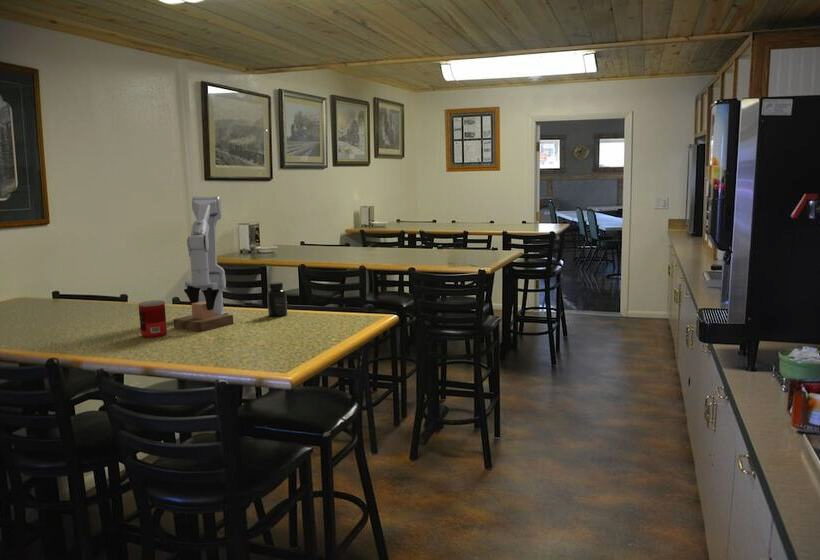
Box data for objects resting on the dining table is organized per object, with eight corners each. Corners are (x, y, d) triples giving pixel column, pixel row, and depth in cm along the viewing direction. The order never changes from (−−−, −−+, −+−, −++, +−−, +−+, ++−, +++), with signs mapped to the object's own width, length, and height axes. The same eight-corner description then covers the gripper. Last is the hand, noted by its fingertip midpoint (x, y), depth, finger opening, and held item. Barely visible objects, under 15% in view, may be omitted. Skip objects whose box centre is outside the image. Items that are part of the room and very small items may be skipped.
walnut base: (173, 327, 231) (173, 319, 230) (206, 320, 243) (205, 312, 242) (201, 331, 224) (201, 322, 223) (233, 323, 235) (233, 315, 235)
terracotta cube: (192, 317, 232) (191, 303, 231) (204, 315, 236) (203, 301, 235) (202, 319, 229) (201, 304, 228) (213, 316, 233) (212, 302, 233)
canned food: (172, 333, 222) (169, 300, 221) (155, 338, 215) (152, 304, 213) (153, 332, 225) (150, 299, 223) (136, 337, 217) (133, 304, 216)
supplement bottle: (289, 313, 251) (287, 281, 249) (284, 317, 244) (282, 284, 243) (271, 313, 252) (269, 281, 250) (265, 317, 245) (264, 284, 243)
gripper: (176, 270, 231) (179, 309, 233) (205, 272, 223) (208, 312, 225) (192, 267, 237) (195, 305, 239) (221, 269, 229) (224, 308, 231)
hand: (202, 308), depth 232 cm, fingers open, 7 cm apart
